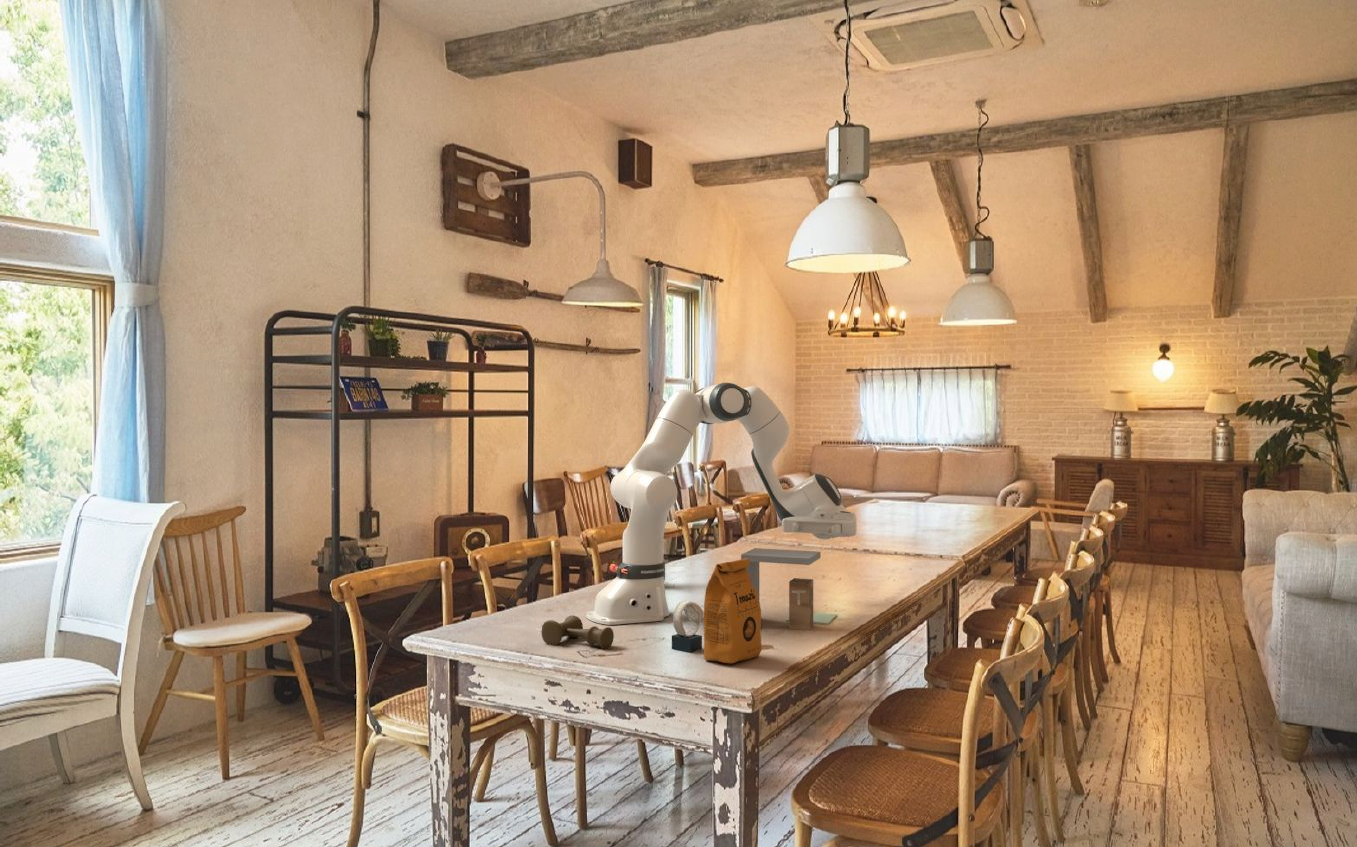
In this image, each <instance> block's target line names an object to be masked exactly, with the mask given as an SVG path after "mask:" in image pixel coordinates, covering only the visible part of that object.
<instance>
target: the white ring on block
mask: <svg viewBox="0 0 1357 847" xmlns="http://www.w3.org/2000/svg"><path fill="white" fill-rule="evenodd" d="M683 612H684V614H685V615H686V616H687V618H688V619H689V621H690V622H691V623H690V626H689V628H688V630H687V631H686V630H685V627H684V625H683V621H682V619H681V618H682V613H683ZM672 615H673V616H672V624H673V628H674V630H675V632H676V634H673V635H671V650H674V651H675V650H676V651H680V652H684V653H690V654H691V653H694V652H697V651H700V650H703V635H699V634H697V632H698V631H699V629H700V625H701V623H702V620H703V617H704V609H702V607H701V606H700V605H699V604H698V603H697V602H695V601H691V600H688V601H687V600H683V601H679V602H678V604H676V607H675V608H674V610H673V614H672Z"/></svg>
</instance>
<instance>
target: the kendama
mask: <svg viewBox="0 0 1357 847" xmlns="http://www.w3.org/2000/svg"><path fill="white" fill-rule="evenodd" d="M540 633H541V638H542V640H543V642H544V643H545V644H546V645H549V646H553V647H554V646H557V645H559V644H560V642H561V641H562V639H563V638H564V637H565V638H566V637H568V638H571V639H577V638H579V639H583V640H584V641H586V642H587V644H588V645H590V646H593V645H597V646H600V648H601V649H603V650H606V649H609V648H610V647H611V646H612V644H613V642H614V638H615V634H614V630H613V629H612V628H611V627H609V626H608V627H605V628H602V629H600V628H599V627H598V626H592V627H590V628H584V626H583V622H582V619H581V618H579V616H576V615H568V616H567V617H566V618H565V619H564V621H562V622H560V623H559V622H558V621H556V620H553V619H552V620H551V619H549V620H546V621H544V622H543V624H542V626H541V631H540Z"/></svg>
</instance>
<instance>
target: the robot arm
mask: <svg viewBox="0 0 1357 847" xmlns="http://www.w3.org/2000/svg"><path fill="white" fill-rule="evenodd" d="M735 420H736V421H738V422H739V423H740V424H741V425H742V426H743V428H744V429H745V431H746V433H748V435H749V436H750V438H751V441H752V446H753V448H752V449H751V452H750V454H751V459H752V462H753V465H754V467H755V469H756V471H757V474H758V475H759V477H760V480H761V482H762V484H763V486H764V488H765V490H766V492H767V494H768V497H769V499H770V500H771V503H772V506H773V508H774V510H775V513H776V516H777V517H778V519H779V520H780V521H781V530H782V532H785V533H798V534H812V535H813V536H814V537H815V538H816V539H820V540H823V541H825V540H830V539H835V538H846V537H849V538H850V537H855V536H856V535H857V528H858V527H857V526H858V525H857V516H856V513H855V512H850V511H848V509H847V508H846V507H845V506H844V505H843V504H842V495H841V492H840V491H839V488H838V487H837V486H836V484H835V483H834V481H833V480H832V479H831V478H830V477H828V476H827V475H823V474H821V473H815V474H813V475H811V476H809V477H808V478H806V479H805V480H803V481H801V482H800V483H799V484H796V485H795V486H794V487H792V488H790V489H787V490H786V489H783V486H782V484H781V483H780V481H779V478H778V476H777V474H776V472H775V470H774V466H773V463H774V461H775V459H776V457H777V456H778V454H779V453H780V452H781V450H782V449H783V447H784V446H785V445H786V443H787V441H788V438H789V435H790V425H789V422H788V420H787V418H786V417H785V415H783V412H782V411H781V410H780V408H779V407H778V406H777V405H776V403H775V402H774V401H773V400H772V399H771V397H769V395H767V394H766V393H765V392H764V390H762V389H761V387H758V386H755V385H750V386H746V387H744V388H743V387H741V386H739V385H737V384H735V383H731V382H721V383H714V384H710V385H708V386H706V387H703V388H700V389H699V390H696V391H695V392H693V391H691V390H688V389H687V390H686V389H679V390H678V389H677V390H676V391H674V392H673V393H672V394H671V395H670V396H669V398H668V399H667V401H666V402H665V403H664V405H663V407H662V408H661V409H660V411H659V413H658V415H657V417H656V418H655V421H654V422H653V425H652V427H651V428H650V431H649V432H648V434H647V436H646V438H645V440H644V442H643V443H642V445H641V447H639V449H638V451H637V452H635V453H634V456H632V458H630V461H629V462H628V463H627V464H626V465H625V467H624V468H623V469H622V470H621V471H619V472H618V473H616V474H615V475H614V476H613V478H612V480H611V482H610V485H609V488H610V494H611V496H612V498H613V499H614V500H615V502H616V503H618V504H619V505H620V506H622V507H623V508H625V509H630V515H629V519H628V523H627V526H626V528H625V529H624V531H623V533H622V562H620V564H619V565H618V564H614V563H611V564H610V565H609V571H611V572H613V573H616V577H615V578H614V579H612V580H611V581H610V582H609V583H608V584H607V585H606V586H605V587H604V588H602V589H601V590H600V591H599V592H598V593H597V594H596V597H595V601H594V608H593V610H591V611H587V612H586V619H587V620H589V621H591V622H594V623H597V624H599V625H601V624H602V625H605V626H607V625H609V626H612V625H614V626H615V625H622V624H623V625H624V624H625V625H626V624H635V623H636V624H637V623H648V622H660V621H664V619H665V618H666V617H668V616H669V615H671V613H670V609H669V607H668V602H667V595H666V590H665V589H666V588H665V580H666V562H665V560H664V546H665V545H664V540H665V539H664V538H665V537H664V536H665V528H666V524H667V520H668V516H669V513H670V510H671V509H672V508H673V507H674V505H675V504H676V501H677V498H678V487H677V484H676V483H675V481H674V480H673V479H672V478H671V477H669V476H668V475H667V474H668V473H669V472H670V471H671V470H672V469H673V468H674V467H675V466H677V465H678V464H679V463H680V461H681V460H682V458H683V457H684V455H685V452H686V450H687V448H688V446H689V444H690V443H691V440H692V438H693V437H694V433H696V432H695V431H696V429H697V428H698V426H699V425H700V424H704V425H705V424H706V425H713V424H717V425H719V424H720V425H721V424H725V423H729V422H731V421H732V422H733V421H735Z"/></svg>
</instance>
